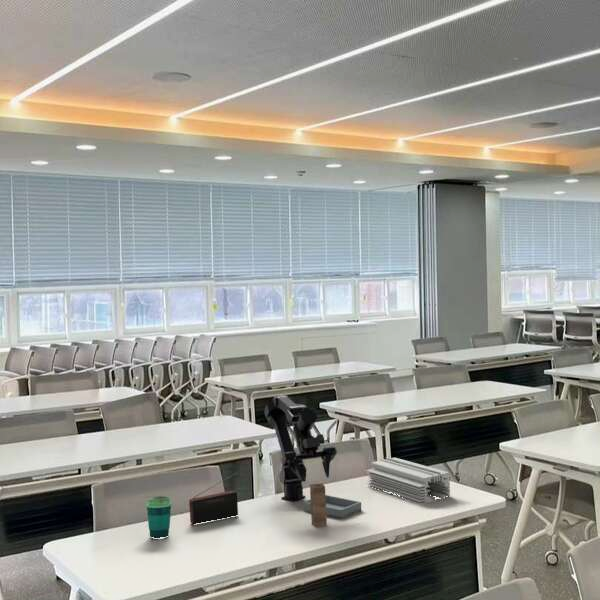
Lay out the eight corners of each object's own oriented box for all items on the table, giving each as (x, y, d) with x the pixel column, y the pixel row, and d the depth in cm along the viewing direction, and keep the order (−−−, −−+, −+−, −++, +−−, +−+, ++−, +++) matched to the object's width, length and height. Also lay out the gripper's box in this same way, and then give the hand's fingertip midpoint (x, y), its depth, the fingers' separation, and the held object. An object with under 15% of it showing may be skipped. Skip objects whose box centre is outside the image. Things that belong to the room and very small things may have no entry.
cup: (142, 539, 252) (140, 502, 252) (156, 531, 260) (154, 495, 259) (164, 541, 249) (162, 503, 249) (177, 532, 257) (175, 496, 256)
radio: (194, 526, 263) (191, 482, 262) (190, 524, 265) (188, 480, 265) (243, 515, 272) (241, 472, 272) (240, 513, 275) (237, 471, 274)
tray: (303, 510, 274) (303, 502, 274) (323, 502, 283) (323, 494, 282) (341, 519, 263) (341, 510, 263) (361, 510, 271) (361, 502, 271)
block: (311, 523, 260) (309, 484, 259) (323, 522, 261) (321, 483, 260) (315, 527, 256) (313, 487, 256) (326, 525, 257) (325, 486, 257)
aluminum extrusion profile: (420, 505, 275) (418, 477, 275) (367, 487, 301) (365, 461, 301) (450, 497, 283) (449, 470, 282) (396, 480, 309) (395, 455, 308)
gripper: (283, 429, 266) (294, 471, 257) (334, 423, 272) (347, 464, 263) (276, 445, 274) (287, 486, 265) (326, 439, 280) (338, 479, 272)
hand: (315, 478), depth 266 cm, fingers open, 9 cm apart
